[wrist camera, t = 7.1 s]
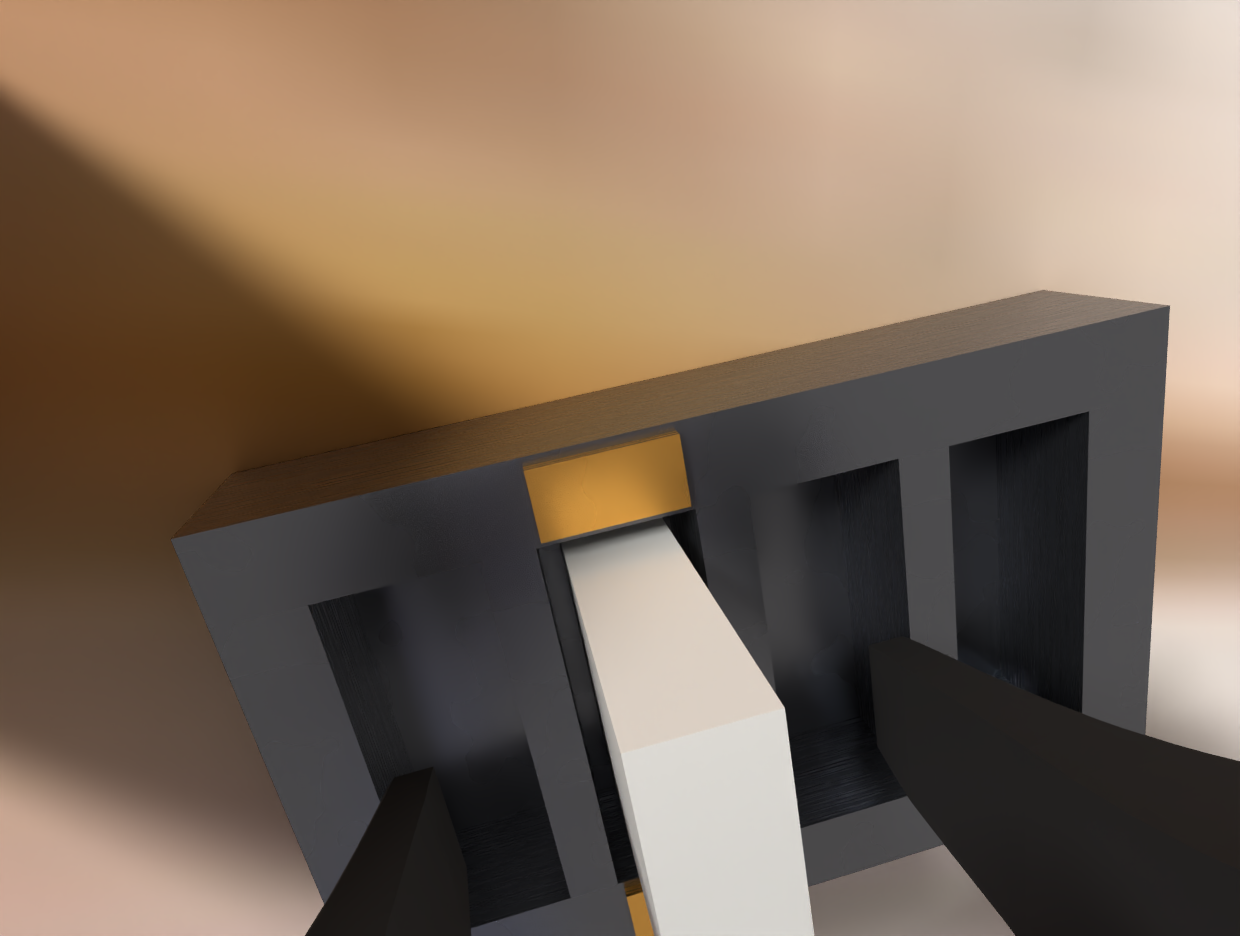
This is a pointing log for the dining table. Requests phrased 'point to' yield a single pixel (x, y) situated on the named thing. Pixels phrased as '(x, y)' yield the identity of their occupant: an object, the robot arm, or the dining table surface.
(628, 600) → the panel
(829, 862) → the rack
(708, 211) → the dining table surface
